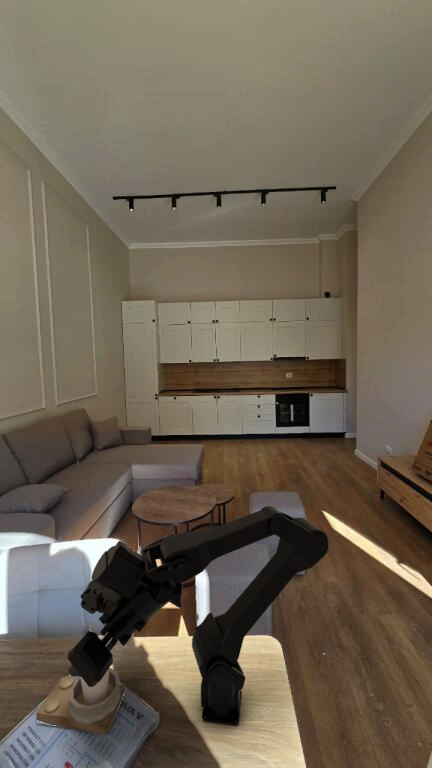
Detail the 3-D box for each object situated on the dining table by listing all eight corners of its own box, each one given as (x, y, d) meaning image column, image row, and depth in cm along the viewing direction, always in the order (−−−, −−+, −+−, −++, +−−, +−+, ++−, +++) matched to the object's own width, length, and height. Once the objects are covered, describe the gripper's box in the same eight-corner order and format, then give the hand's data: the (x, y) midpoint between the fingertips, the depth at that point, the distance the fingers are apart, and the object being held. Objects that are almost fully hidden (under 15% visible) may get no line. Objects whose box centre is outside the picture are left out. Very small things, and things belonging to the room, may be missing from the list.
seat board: (127, 692, 68) (126, 669, 68) (107, 737, 60) (106, 711, 59) (62, 684, 70) (62, 662, 70) (34, 726, 62) (34, 701, 61)
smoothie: (68, 707, 63) (66, 630, 62) (96, 679, 69) (94, 608, 68) (95, 723, 60) (93, 642, 59) (121, 692, 66) (120, 618, 65)
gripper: (137, 540, 71) (90, 586, 75) (76, 597, 53) (19, 655, 57) (174, 584, 69) (125, 629, 73) (125, 660, 51) (62, 715, 55)
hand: (87, 652), depth 64 cm, fingers open, 9 cm apart
